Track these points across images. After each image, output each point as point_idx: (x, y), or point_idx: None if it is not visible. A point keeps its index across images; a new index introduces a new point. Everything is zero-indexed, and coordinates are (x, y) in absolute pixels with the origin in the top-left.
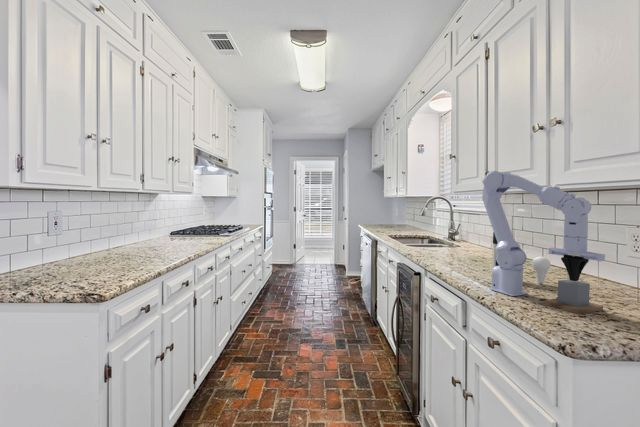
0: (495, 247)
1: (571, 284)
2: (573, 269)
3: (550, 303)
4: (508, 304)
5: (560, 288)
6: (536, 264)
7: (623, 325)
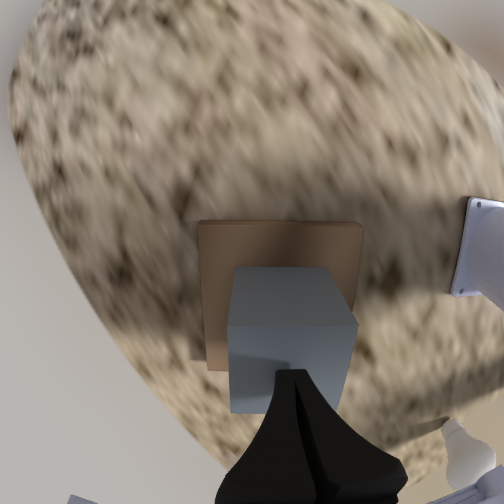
0: None
1: (269, 323)
2: (281, 424)
3: (335, 224)
4: (414, 66)
5: (330, 300)
6: (484, 453)
7: (80, 246)
